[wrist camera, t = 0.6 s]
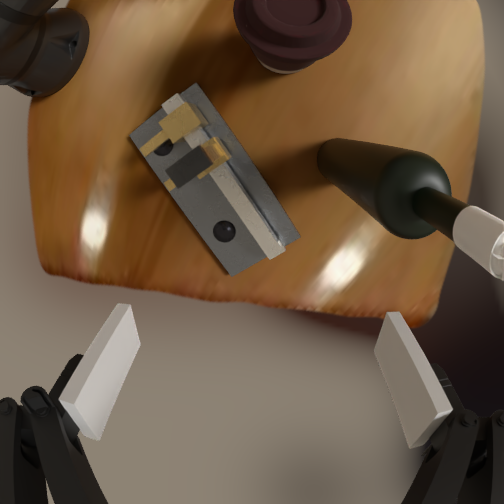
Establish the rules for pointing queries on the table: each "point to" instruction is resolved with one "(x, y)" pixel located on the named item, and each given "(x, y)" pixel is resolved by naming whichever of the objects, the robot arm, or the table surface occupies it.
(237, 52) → the table surface
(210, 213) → the trammel plate
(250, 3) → the coffee cup
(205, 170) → the sliding leg
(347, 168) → the wine bottle
